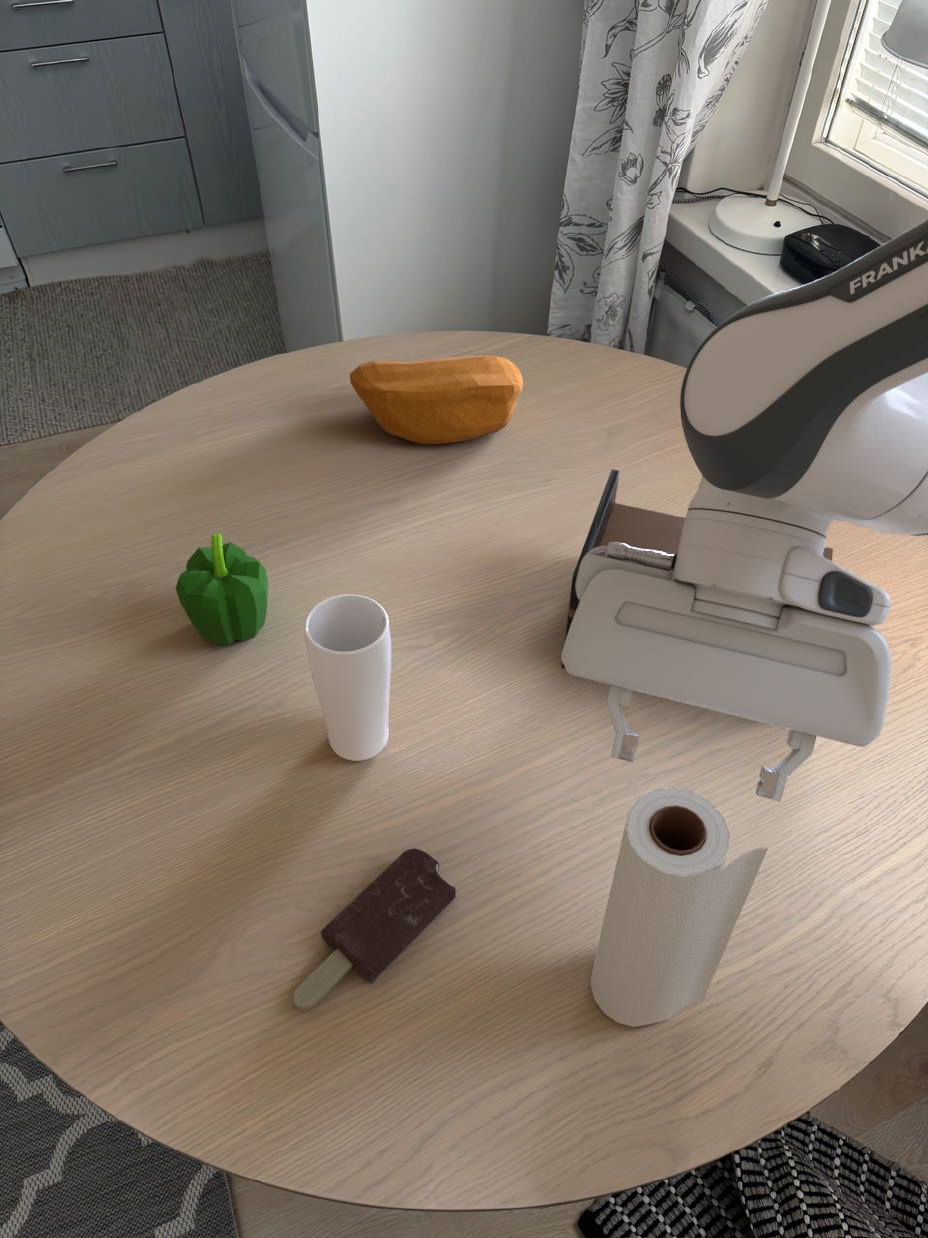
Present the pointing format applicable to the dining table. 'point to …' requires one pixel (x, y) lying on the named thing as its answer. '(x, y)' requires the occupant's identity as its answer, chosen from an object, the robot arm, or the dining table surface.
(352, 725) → the drinking glass
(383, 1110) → the dining table surface
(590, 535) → the rack
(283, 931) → the dining table surface
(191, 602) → the bell pepper
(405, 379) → the bread
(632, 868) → the paper towel roll
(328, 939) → the ice cream bar
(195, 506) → the dining table surface
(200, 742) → the dining table surface
